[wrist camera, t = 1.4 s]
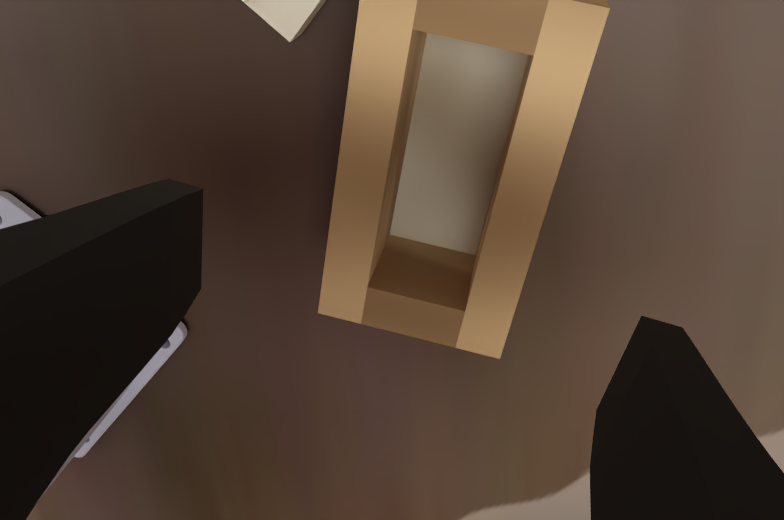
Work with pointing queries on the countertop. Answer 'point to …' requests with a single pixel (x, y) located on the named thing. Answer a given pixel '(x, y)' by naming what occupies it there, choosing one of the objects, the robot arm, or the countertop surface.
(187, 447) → the countertop surface
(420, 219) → the frame
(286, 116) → the countertop surface
